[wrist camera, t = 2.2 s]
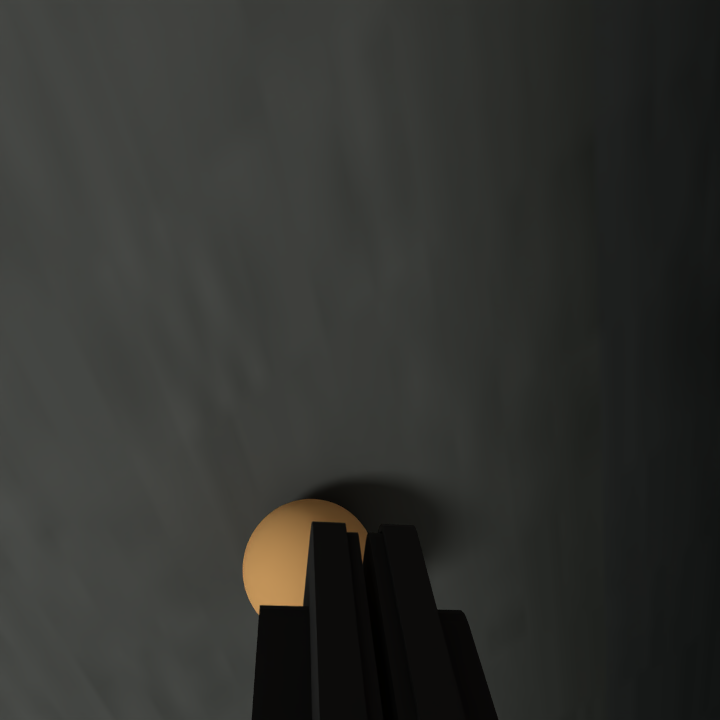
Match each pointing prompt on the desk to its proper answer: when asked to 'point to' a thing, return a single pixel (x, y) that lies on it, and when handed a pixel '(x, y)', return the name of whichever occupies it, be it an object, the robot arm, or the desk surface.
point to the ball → (288, 550)
